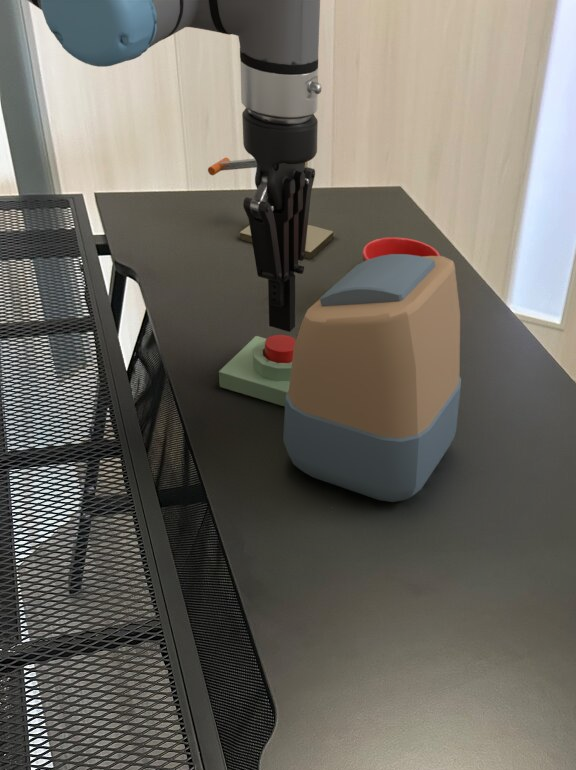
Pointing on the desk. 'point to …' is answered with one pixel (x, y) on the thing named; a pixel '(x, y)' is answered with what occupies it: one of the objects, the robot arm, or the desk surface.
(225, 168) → the switch lever
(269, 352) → the button
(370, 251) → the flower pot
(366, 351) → the lidded trash bin
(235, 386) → the button box
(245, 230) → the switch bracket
